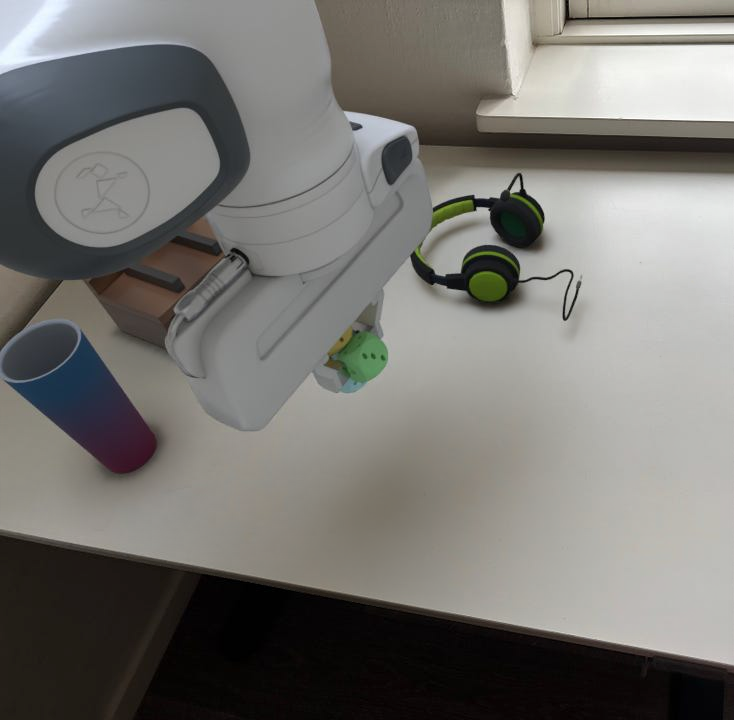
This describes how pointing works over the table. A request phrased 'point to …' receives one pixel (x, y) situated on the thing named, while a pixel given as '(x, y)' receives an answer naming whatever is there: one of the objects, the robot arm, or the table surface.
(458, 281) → the headphones
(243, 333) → the robot arm
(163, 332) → the laptop stand
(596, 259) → the table surface
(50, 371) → the cup
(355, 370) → the dice
